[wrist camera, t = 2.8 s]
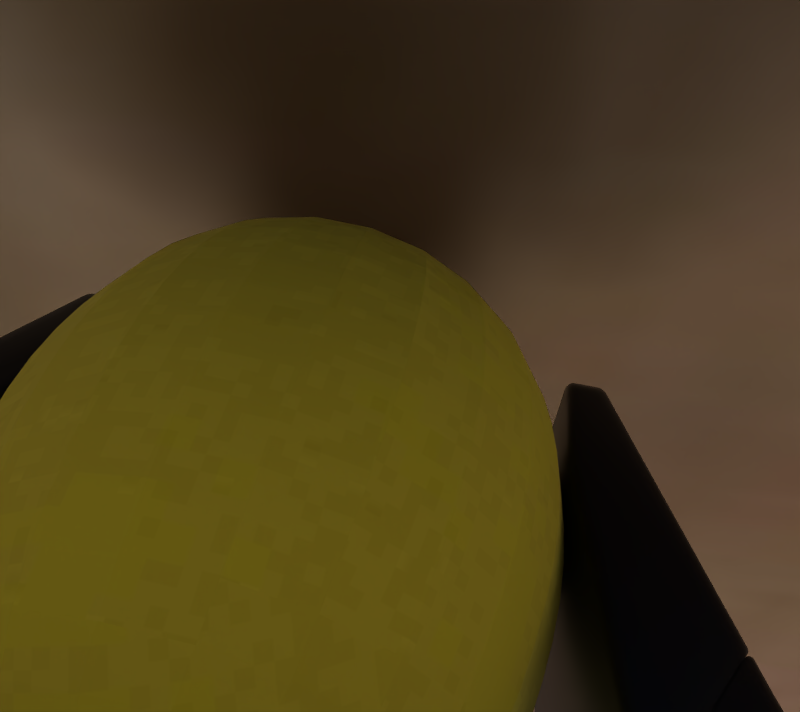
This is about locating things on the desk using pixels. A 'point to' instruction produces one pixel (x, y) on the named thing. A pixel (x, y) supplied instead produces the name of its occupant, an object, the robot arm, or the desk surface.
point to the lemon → (278, 488)
